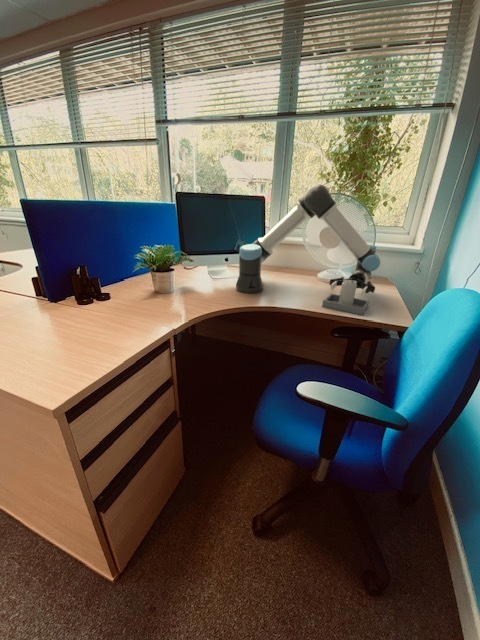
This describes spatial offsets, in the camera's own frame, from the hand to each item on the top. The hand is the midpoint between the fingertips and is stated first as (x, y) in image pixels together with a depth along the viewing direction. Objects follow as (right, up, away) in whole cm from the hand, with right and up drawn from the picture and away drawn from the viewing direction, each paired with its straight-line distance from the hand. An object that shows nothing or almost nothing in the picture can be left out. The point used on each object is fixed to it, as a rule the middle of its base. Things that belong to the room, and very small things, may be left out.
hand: (346, 290), depth 117 cm
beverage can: (+2, -7, +6) cm, 9 cm away
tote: (+2, -7, +6) cm, 10 cm away
